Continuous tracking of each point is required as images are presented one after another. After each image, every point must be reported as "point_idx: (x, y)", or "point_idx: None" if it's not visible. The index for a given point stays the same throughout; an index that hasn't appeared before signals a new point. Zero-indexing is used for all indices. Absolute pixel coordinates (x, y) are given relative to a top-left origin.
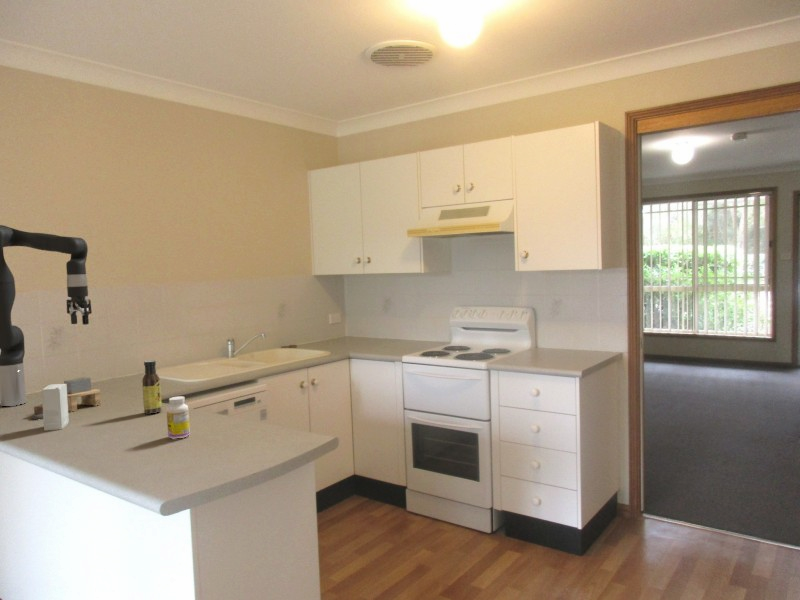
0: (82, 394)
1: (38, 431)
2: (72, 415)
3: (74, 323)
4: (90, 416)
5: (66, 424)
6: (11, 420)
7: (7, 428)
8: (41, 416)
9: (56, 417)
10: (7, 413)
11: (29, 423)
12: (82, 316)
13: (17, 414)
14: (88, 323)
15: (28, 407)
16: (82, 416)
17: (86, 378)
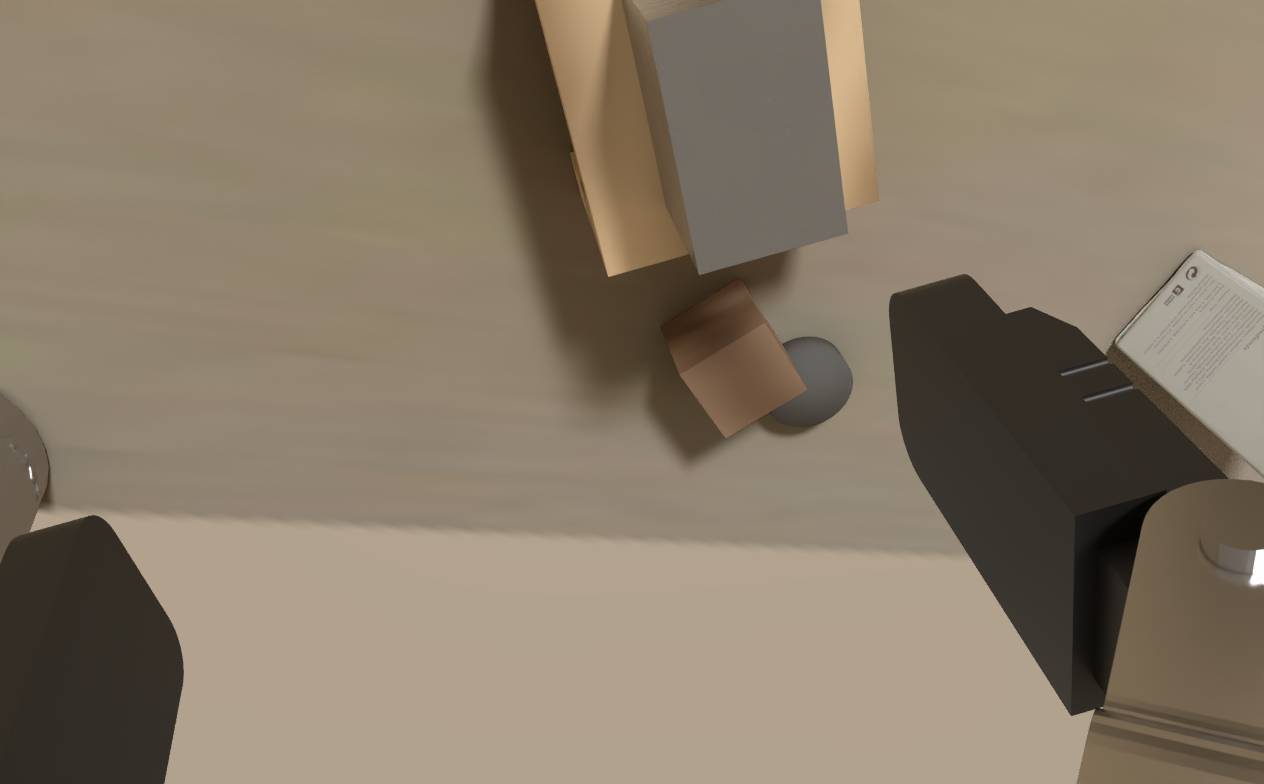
0: (863, 70)
1: (1185, 426)
2: (958, 162)
3: (141, 600)
4: (1153, 59)
5: (1241, 275)
6: (671, 517)
7: (902, 549)
8: (850, 374)
9: None
10: (358, 520)
11: (899, 440)
12: (1089, 682)
13: (476, 470)
14: (963, 281)
15: (218, 375)
16: (1082, 110)
17: (792, 24)
